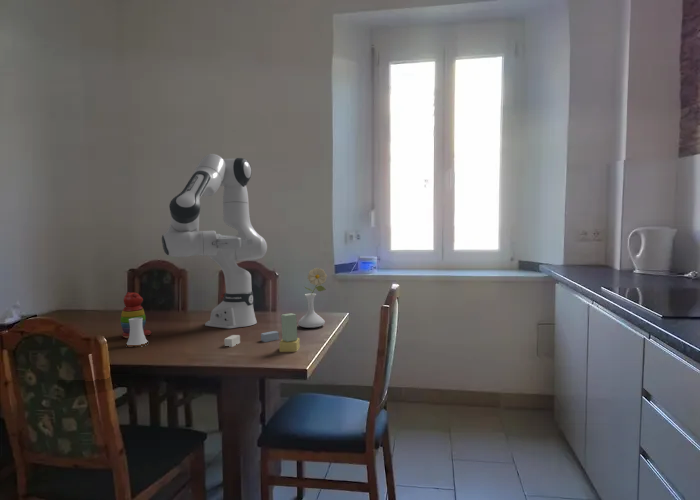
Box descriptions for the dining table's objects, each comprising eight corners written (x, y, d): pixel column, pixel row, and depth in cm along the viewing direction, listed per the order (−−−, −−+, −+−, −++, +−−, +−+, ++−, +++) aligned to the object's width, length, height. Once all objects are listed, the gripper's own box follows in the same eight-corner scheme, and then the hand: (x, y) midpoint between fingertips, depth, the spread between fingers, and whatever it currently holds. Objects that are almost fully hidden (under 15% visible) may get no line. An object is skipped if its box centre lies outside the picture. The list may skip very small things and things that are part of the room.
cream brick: (232, 347, 178) (231, 339, 178) (224, 347, 179) (224, 338, 179) (240, 343, 184) (239, 335, 184) (233, 342, 185) (232, 334, 185)
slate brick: (264, 342, 183) (264, 334, 183) (261, 341, 186) (260, 333, 186) (278, 339, 187) (278, 332, 187) (275, 338, 189) (274, 330, 189)
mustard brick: (279, 352, 170) (279, 342, 170) (283, 347, 176) (282, 338, 176) (296, 352, 170) (296, 342, 169) (299, 347, 175) (299, 338, 175)
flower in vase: (295, 329, 202) (292, 269, 200) (301, 323, 213) (299, 266, 211) (326, 330, 200) (324, 269, 198) (331, 323, 211) (329, 266, 210)
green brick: (286, 341, 170) (285, 315, 169) (282, 339, 173) (281, 314, 173) (297, 340, 172) (296, 314, 171) (292, 338, 175) (291, 313, 175)
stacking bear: (153, 335, 200) (151, 291, 199) (128, 340, 192) (125, 295, 191) (141, 331, 207) (138, 289, 206) (116, 336, 200) (114, 292, 198)
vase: (149, 345, 183) (147, 319, 183) (127, 348, 180) (125, 321, 179) (146, 341, 190) (145, 315, 189) (125, 344, 186) (123, 318, 186)
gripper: (213, 234, 165) (254, 233, 170) (207, 233, 184) (245, 231, 189) (214, 253, 165) (255, 251, 170) (208, 250, 185) (245, 248, 189)
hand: (249, 241), depth 180 cm, fingers open, 8 cm apart
